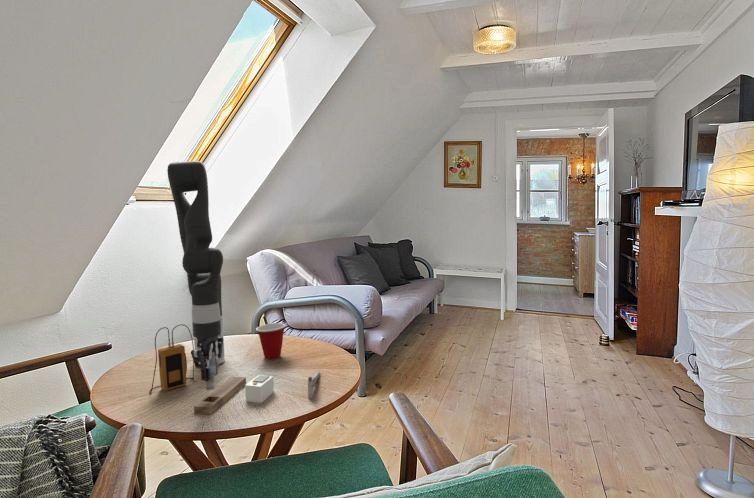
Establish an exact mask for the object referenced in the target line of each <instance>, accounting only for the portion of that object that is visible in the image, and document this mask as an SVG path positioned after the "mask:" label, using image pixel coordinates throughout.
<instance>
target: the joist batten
mask: <svg viewBox="0 0 754 498" xmlns="http://www.w3.org/2000/svg"><path fill="white" fill-rule="evenodd" d="M246 384H247V377H246V376H229V378H228V379H226V380H225V381H224V382H222V383H221V384H220V385H219V386H217V387H215V388H214V389H213V391H212V390H211V392H210V393H209V394H207V395H206V396H205V397H204V398H202V399H201V400H200V401H199V402H197V403H196V404H195V405H194V406H193V413H194V414H201V415H203V414H204V415H212V414H213V413H214V412H216V410H218V409H219V408H220V407H221V406H222V405H223V404H224V403H226V402H227V401H228V400H230V398H231V397H232V396H233V395H235V394H236V393H237V392H238V391H240V389H241V388H243V387H245V385H246Z"/></svg>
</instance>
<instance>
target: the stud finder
mask: <svg viewBox="0 0 754 498" xmlns="http://www.w3.org/2000/svg"><path fill="white" fill-rule="evenodd" d="M274 385H275V383H274V376H273V375H261V374H258V375H257V376H255V377H254V378H253V379H251V380H250V381H249V382H246V384H245V385H244V390H245V391H244V392H245V394H244V395H245V401H246V402H252V403H260V404H261V403H264V401H266V399H267V398H268V397H270V396H271V395H272V394H273V393H274V392H275V391H274V390H275V386H274Z"/></svg>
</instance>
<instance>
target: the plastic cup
mask: <svg viewBox="0 0 754 498" xmlns="http://www.w3.org/2000/svg"><path fill="white" fill-rule="evenodd" d="M285 327H286V324H285V323H282V322H274V323H273V322H272V323H267V324H263V325H260V326H258V327H256V328H255V331H256V332H257V334H258V338H259V340H260V345H261V349H262V352H263V356H264V359H265V360H268V361H269V360H276V359H279V358H280V357H281V354H282V348H283V341H284V340H283V339H284V333H285Z"/></svg>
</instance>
